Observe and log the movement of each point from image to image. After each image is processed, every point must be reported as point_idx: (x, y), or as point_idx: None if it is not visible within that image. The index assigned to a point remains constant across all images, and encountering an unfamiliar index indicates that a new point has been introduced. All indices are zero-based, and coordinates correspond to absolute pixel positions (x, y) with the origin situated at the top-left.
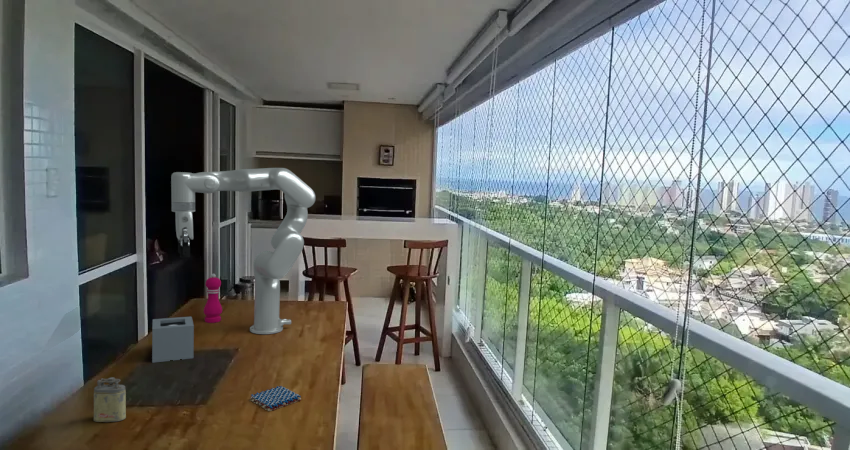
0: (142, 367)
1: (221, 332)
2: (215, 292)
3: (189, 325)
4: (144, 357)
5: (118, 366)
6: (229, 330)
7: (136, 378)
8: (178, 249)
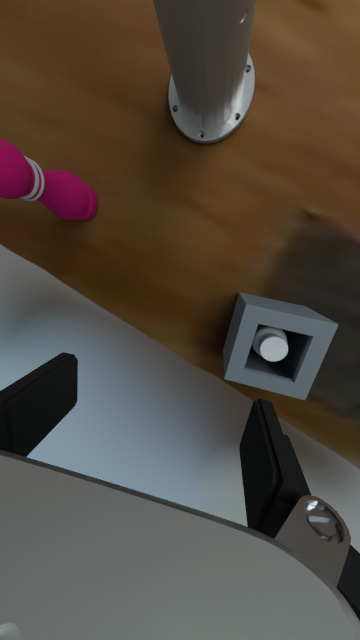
0: None
1: (174, 210)
2: (42, 176)
3: (329, 332)
4: None
5: None
6: (168, 189)
7: (340, 398)
8: (59, 421)
